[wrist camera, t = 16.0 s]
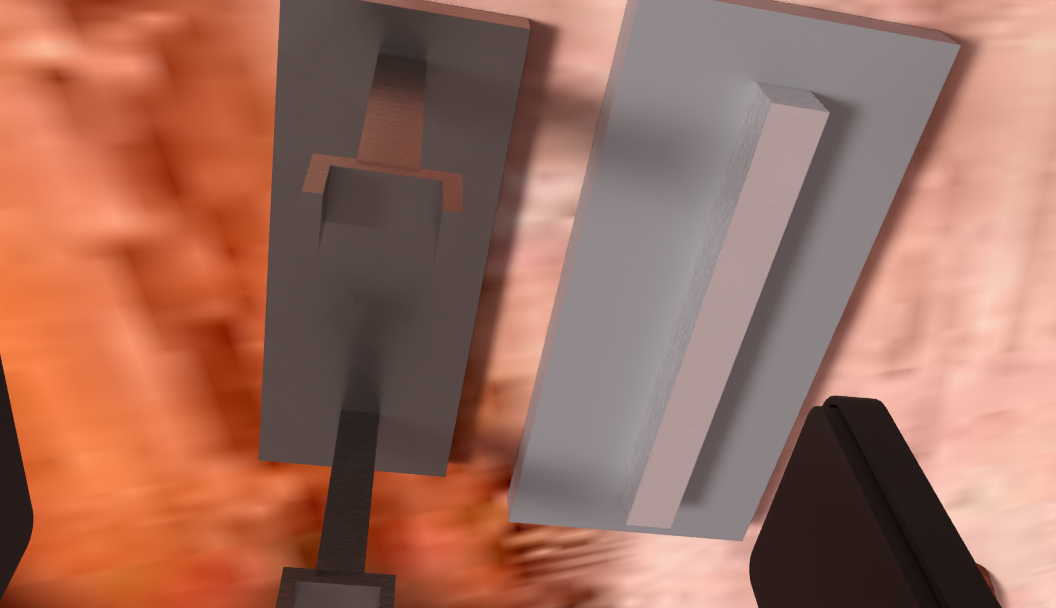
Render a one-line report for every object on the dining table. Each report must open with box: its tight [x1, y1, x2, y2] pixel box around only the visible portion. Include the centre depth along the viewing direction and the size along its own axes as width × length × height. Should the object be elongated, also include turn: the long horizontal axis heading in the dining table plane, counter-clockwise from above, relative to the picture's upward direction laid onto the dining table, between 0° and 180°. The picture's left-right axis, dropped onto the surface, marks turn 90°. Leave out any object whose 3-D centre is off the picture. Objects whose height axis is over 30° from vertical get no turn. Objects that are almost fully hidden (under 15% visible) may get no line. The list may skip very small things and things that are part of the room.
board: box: [507, 0, 961, 541], centre depth 47 cm, size 14×30×2 cm, turn 169°
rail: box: [619, 82, 830, 529], centre depth 45 cm, size 2×24×2 cm, turn 169°
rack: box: [259, 0, 531, 608], centre depth 39 cm, size 10×25×15 cm, turn 169°
